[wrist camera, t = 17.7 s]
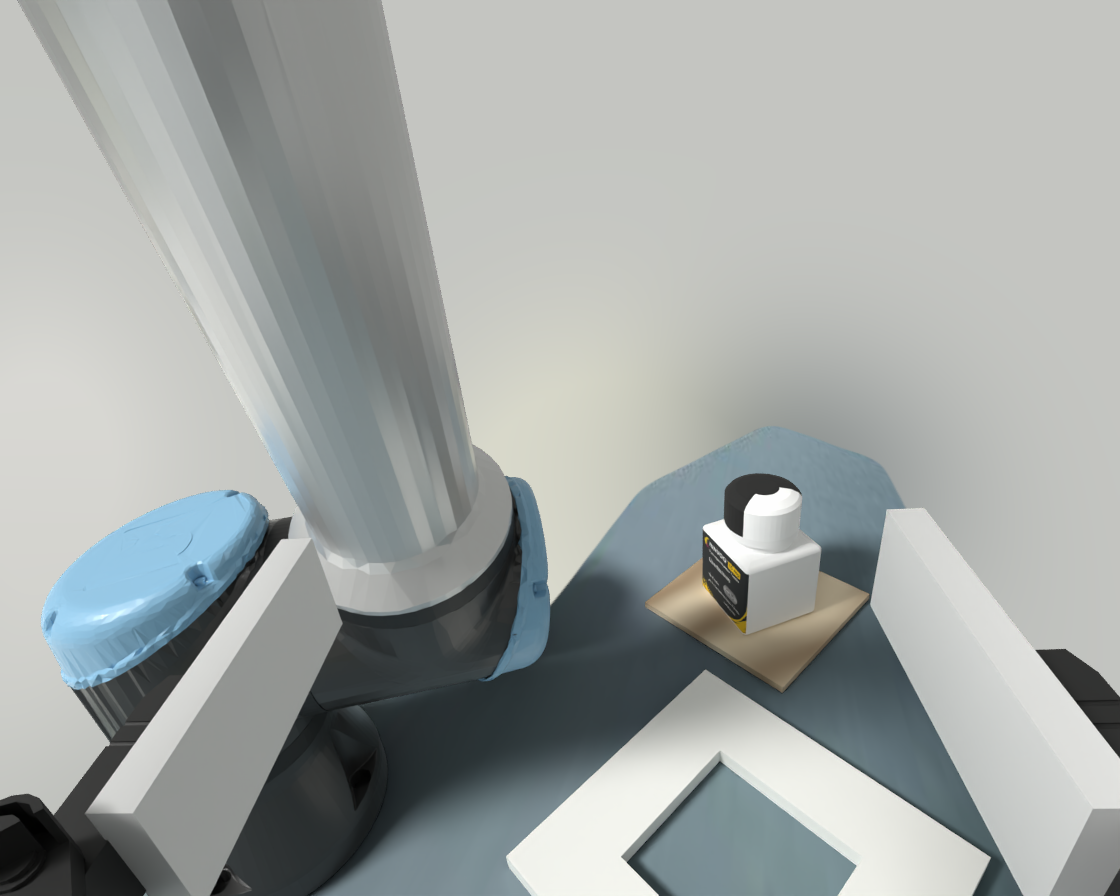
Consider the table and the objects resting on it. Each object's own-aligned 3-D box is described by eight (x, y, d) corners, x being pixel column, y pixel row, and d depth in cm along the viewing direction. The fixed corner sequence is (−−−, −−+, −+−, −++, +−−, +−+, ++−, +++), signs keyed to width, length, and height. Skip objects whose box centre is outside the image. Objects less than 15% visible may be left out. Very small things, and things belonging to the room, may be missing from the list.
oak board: (645, 607, 59) (645, 602, 58) (735, 536, 66) (735, 532, 66) (782, 692, 49) (782, 687, 49) (868, 599, 57) (869, 594, 56)
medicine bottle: (700, 586, 59) (701, 477, 54) (766, 564, 61) (774, 456, 55) (744, 638, 53) (750, 521, 48) (815, 612, 55) (830, 497, 49)
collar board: (508, 867, 40) (505, 856, 39) (705, 680, 51) (705, 669, 50) (804, 1233, 26) (806, 1225, 26) (986, 869, 37) (990, 857, 36)
